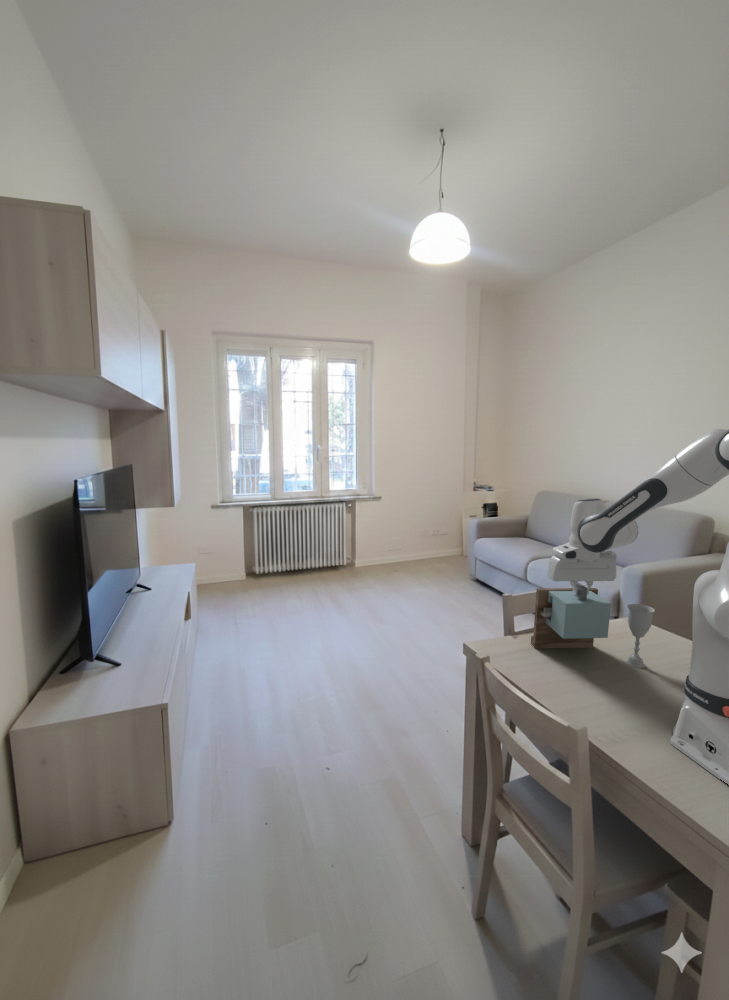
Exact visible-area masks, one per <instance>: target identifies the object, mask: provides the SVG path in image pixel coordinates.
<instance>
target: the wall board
mask: <svg viewBox="0 0 729 1000" xmlns="http://www.w3.org/2000/svg"><path fill="white" fill-rule="evenodd" d="M549 591H573V588H572V587H570V588H569V587H566V588H564V587H562V588H561V587H560V588H557V587H555V588H536V593H535V594H536V595H535V609H534V620H533V621H534V623H533V635H531V637H530V645H531V644H532V645H533V646H534V647H533V646H532V645H531V646H532V647H533V648H534V649H574V648H575V649H576V648H577V649H578V648H579V649H580V648H594V642H595V641H594V639H595V638H566V639H563V638H562V637H561V636H560V635H559V634H557V633H556V632H555V631H554V630H553V629H552V628H551V627H550V626H548V625H547V624H546V617H551V614H552V603H550V602H548V594H549ZM589 591H592V592H593V593H595V594H597V595H598V596H599V589H598V588H596V587H591V588H590V589H589Z"/></svg>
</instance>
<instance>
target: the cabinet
mask: <svg viewBox="0 0 729 1000" xmlns="http://www.w3.org/2000/svg"><path fill="white" fill-rule="evenodd" d="M576 586H577V588H579V589H580V595H574V594H573V591H549V594H548V602H550V603H552V614H551V617H546V624H547V625H548V626H550V627H551V628H552V629H553V630H554V631H555V632H556V633H557V634H559V635H560V636H561V637H562V638H563V639H566V638H594V639H608V636H609V628H610V627H609V626H610V618H611V617H610V616H611V608H612V606H611V605H612V602H610V601H608V600H606V599H605V598H603V597H601V596H600V595H599V594H598V595H597V594H595V593H593V592H592V591H589V593H588V595H587V588H586V587H585V585H583V584H581V583H579V582H578V584H577V585H576Z"/></svg>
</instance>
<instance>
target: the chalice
mask: <svg viewBox="0 0 729 1000" xmlns="http://www.w3.org/2000/svg"><path fill="white" fill-rule="evenodd" d="M626 606H627V609H628V615H627V624H628V627H629V630H630V632H631V634H632V636H633V637H635V640H634V641H633V642H634V647H633V648H632V649H633V650H634V651H633V654H630V655H629V656H628V657H627V659H626V660H625V663H626V664H627V665H629V666H631V667H634V668H639V669H640V668H641V669H643V668H645V667H646V666H645V663H644V660H643V658H642V656H640V655H639V651H640V650H641V648H640V645H641V642H640V639H641V638H644V637H645V635H647V633H648V632H649V631H650V629H651V626H652V621H653V614H654V612H656V611H655V608H653V607H652V606H649V605H645V604H642V603H641V604H638V603H630V604H629V603H628V604H627V605H626Z"/></svg>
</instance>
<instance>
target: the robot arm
mask: <svg viewBox="0 0 729 1000" xmlns="http://www.w3.org/2000/svg"><path fill="white" fill-rule="evenodd" d="M727 476H729V429H724V428H715V429H712V430H709V431H707V432H706V433H704V434H702V435H701V436H699V437H697V438H696V439H693V440H692V441H691V442H689V443H688V444H686V445H685V446H684V447H682V448H681V449H679V450H678V452H676V453H674V455H672V456H671V457H670V458H668V460H667V461H665V462H664V463H663V464H662V465H660V467H659V468H657V469H656V470H655V471H654V472H653V473H652V474H651V475H649V476H648V477H646V478H645V480H643V481H642V482H641V483H640V484H638V485H637V486H636V487H635V488H633V489H632V490H630V491H629V492H628V493H626V494H625V495H623V496H622V497H620V499H618V500H617V501H616V502H614V503H612V504H611V505H610V506H609V505H607V504H606V503H605V502H604V500H603V499H600V498H588V499H587V498H586V499H579V500H576V501H575V502H574V504H573V506H572V509H571V516H570V522H569V523H570V525H569V527H570V535H569V539H568V542H565V543H564V544H560V545H557V546H554V547H553V548H552V549H551V552H552V554H553V555H552V556H551V557H550V560H549V564H548V567H547V568H548V569H547V576H548V577H549V579H550V580H552V581H553V582H569V584H570V585H571V588H573V594H574V595H580V589H579V588H577V586H576V585H577V584H578V583H579V582H584V583H585V584H584V586H585V587H586V588H587V595H588V593H589V589H590V588H592V586H593V585H594V582H614V581H615V580H616V579H617V557H618V556H617V554H616V553H615V552H614V551H612V550H611V549H616V548H620V547H624V546H628V545H630V544H632V543H634V542H635V541H636V539H637V538H638V535H639V526H638V523H637V522H636V520H638V519H639V518H641V517H642V516H643V515H645V514H647V513H648V512H651V511H653V510H656V509H658V508H661V507H665V506H668V505H669V506H670V505H674V504H679V503H682V502H686V501H688V500H692V499H693V498H695V497H697V496H699V495H701V494H702V493H704V492H706V491H707V490H709V489H710V488H712V487H713V486H714V485H716V484H717V483H718V482H720V481H722V480H723V479H724V478H725V477H727ZM692 597H693V598H692V599H693V600H692V601H693V602H692V621H691V622H692V623H691V624H692V626H691V627H692V633H691V635H692V645H691V654H690V663H689V671H688V675H687V676H686V678H685V681H684V691H683V692H684V694H685V697H684V699H683V703H682V706H681V708H680V711H679V715H678V717H677V722H676V723H675V725H674V727H673V729H672V732H673V735H672V736H671V738H670V740H669V742H670V744H671V745H672V746H673V747H675V748H676V749H677V750H679V751H680V752H681V753H682V754H684V755H686V756H687V757H688V758H690V759H691V760H693V761H694V762H695V763H696V764H698V765H699V766H701V768H703V769H705V770H706V771H707V772H709V773H711V775H713V776H714V777H716V778H717V779H718V780H720V779H721V780H722V782H723V781H724V782H726V783H727V784H729V541H727V545H726V548H725V553H724V557H723V559H722V563H721V565H720V568H719V569H714V570H713V569H712V570H709V571H706V572H704V573H702V574H700V575H699V577H697V579H696V580H695V583H694V587H693V596H692ZM721 780H720V781H721ZM724 782H723V783H724ZM727 784H726V785H727Z"/></svg>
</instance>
